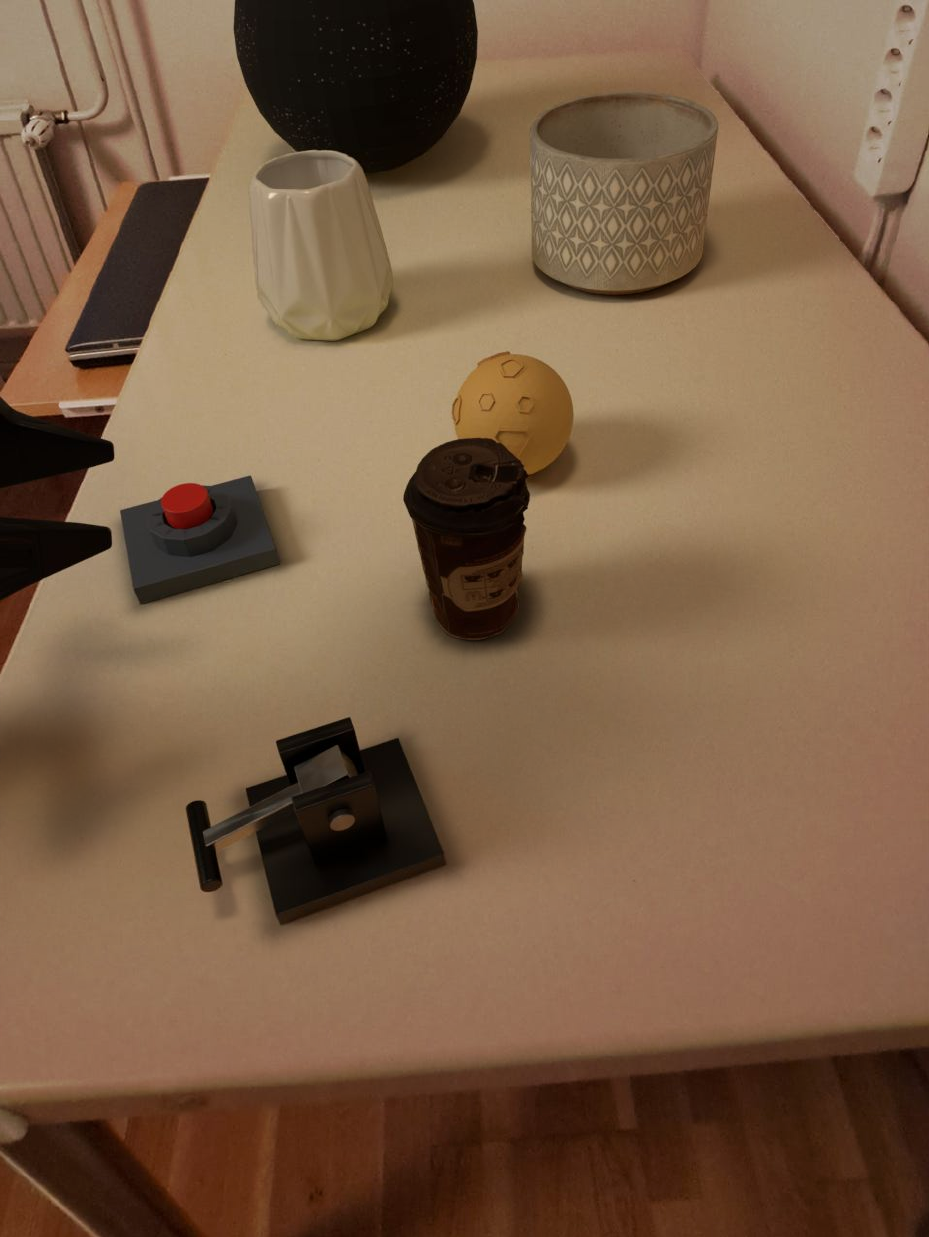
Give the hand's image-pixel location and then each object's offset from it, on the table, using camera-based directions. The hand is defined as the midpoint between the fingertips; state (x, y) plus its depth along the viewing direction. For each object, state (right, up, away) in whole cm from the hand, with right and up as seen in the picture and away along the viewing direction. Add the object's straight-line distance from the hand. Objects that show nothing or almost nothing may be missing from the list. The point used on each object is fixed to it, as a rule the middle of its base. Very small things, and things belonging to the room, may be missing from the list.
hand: (112, 491), depth 51 cm
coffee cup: (+20, -6, +18) cm, 28 cm away
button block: (-2, -1, +25) cm, 25 cm away
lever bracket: (+12, -20, +6) cm, 24 cm away
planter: (+36, +33, +53) cm, 72 cm away
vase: (+5, +25, +49) cm, 56 cm away
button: (-2, +1, +23) cm, 23 cm away
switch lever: (+9, -18, +3) cm, 21 cm away
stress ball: (+23, +6, +30) cm, 38 cm away
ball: (+7, +55, +77) cm, 94 cm away
